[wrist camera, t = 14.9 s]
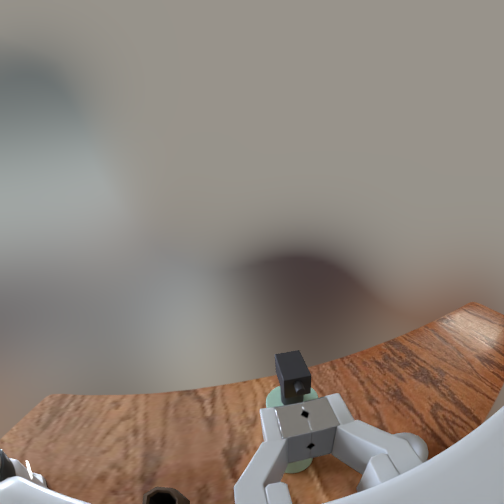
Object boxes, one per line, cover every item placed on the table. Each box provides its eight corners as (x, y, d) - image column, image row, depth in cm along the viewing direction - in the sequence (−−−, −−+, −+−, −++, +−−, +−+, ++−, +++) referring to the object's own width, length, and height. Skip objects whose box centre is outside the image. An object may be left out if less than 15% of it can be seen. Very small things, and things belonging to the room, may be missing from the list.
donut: (424, 439, 32) (374, 438, 36) (430, 428, 31) (378, 428, 35) (423, 481, 23) (366, 482, 27) (431, 472, 22) (372, 473, 26)
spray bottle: (276, 481, 31) (268, 392, 26) (268, 447, 39) (258, 352, 34) (318, 472, 32) (331, 379, 26) (307, 439, 40) (310, 343, 34)
